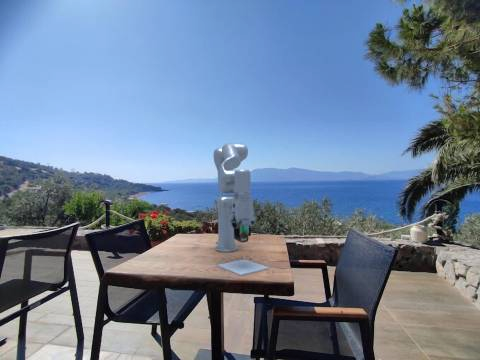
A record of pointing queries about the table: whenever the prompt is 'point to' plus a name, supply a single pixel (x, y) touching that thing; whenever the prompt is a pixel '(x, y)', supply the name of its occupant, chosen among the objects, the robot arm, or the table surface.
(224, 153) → the robot arm
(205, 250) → the table surface
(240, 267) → the mat
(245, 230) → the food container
